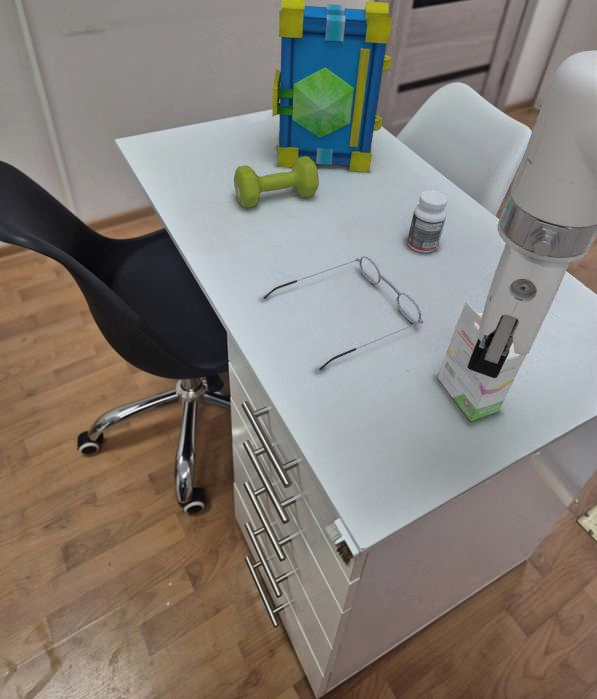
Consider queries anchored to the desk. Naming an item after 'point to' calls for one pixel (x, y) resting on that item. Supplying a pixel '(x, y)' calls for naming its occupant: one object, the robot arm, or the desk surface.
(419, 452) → the desk surface
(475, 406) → the ink box
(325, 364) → the eyeglasses
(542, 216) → the robot arm
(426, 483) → the desk surface
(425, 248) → the pill bottle
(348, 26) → the decorative book
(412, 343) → the desk surface
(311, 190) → the dumbbell
